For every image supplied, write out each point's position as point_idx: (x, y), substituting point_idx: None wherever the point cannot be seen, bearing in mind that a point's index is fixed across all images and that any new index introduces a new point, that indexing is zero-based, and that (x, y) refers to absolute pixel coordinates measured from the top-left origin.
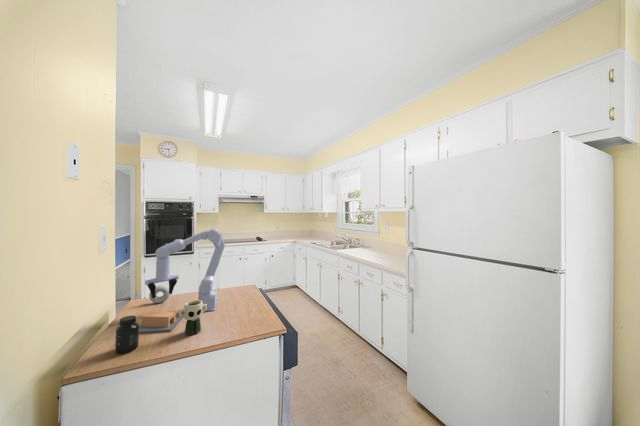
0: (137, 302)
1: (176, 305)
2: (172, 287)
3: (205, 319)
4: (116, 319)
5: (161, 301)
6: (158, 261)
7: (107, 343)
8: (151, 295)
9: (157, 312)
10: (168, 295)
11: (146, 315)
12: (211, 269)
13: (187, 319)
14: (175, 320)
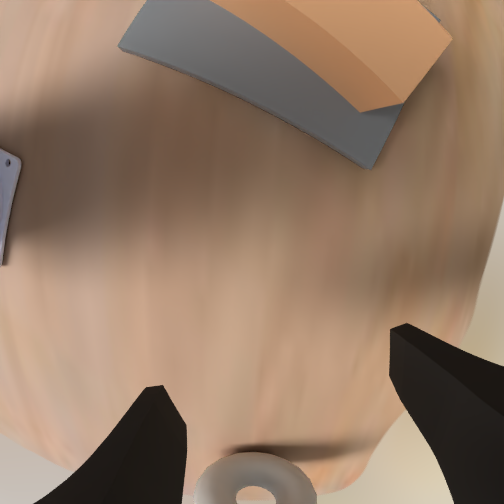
0: (341, 480)
1: (150, 380)
2: (103, 468)
3: (17, 2)
4: (470, 320)
5: (244, 455)
6: None
7: (497, 26)
8: (308, 494)
9: (339, 23)
10: (203, 482)
11: (426, 29)
12: None
13: None
14: (174, 4)
